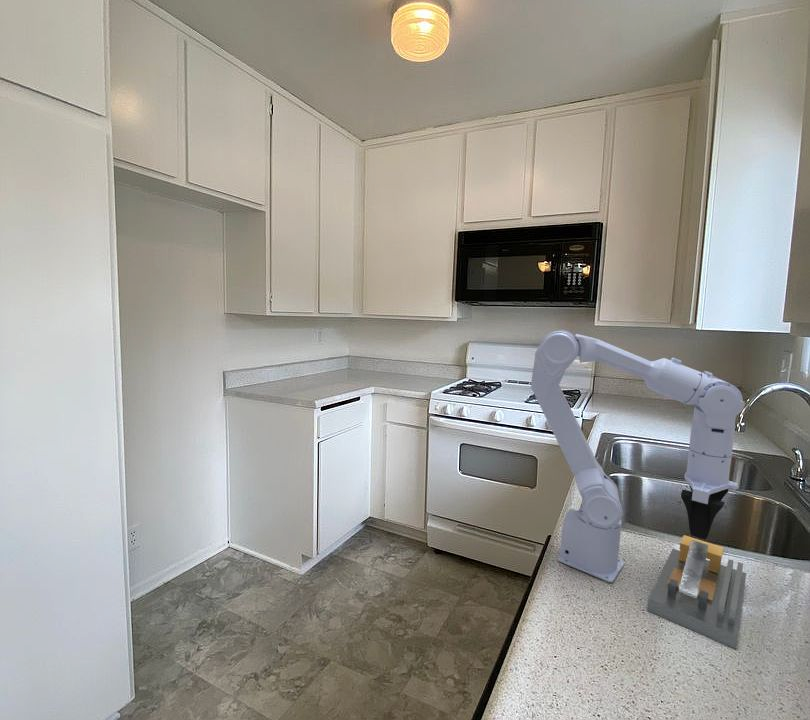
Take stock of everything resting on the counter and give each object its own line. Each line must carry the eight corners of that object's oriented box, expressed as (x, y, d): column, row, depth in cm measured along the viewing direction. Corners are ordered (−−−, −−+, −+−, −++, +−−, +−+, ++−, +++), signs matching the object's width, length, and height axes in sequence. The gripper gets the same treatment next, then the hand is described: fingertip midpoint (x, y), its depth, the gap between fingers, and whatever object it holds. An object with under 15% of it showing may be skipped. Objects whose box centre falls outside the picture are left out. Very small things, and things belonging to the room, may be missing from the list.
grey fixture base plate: (647, 610, 66) (650, 584, 66) (671, 558, 81) (674, 536, 80) (736, 649, 59) (740, 619, 58) (744, 584, 74) (748, 560, 73)
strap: (678, 591, 67) (678, 588, 66) (691, 542, 74) (691, 539, 74) (696, 599, 65) (697, 595, 65) (708, 548, 72) (708, 545, 72)
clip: (678, 559, 77) (680, 543, 76) (682, 551, 80) (683, 535, 79) (719, 574, 73) (721, 556, 72) (721, 564, 76) (723, 547, 75)
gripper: (737, 469, 61) (726, 557, 63) (743, 447, 72) (734, 523, 74) (680, 457, 66) (671, 539, 67) (694, 438, 77) (686, 510, 78)
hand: (700, 530), depth 71 cm, fingers open, 5 cm apart
